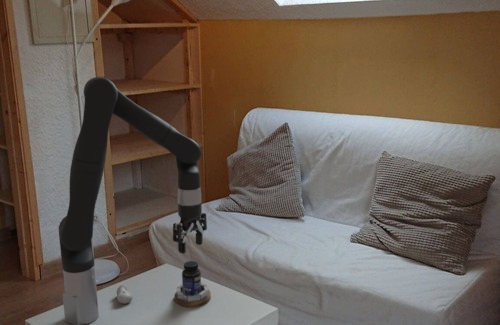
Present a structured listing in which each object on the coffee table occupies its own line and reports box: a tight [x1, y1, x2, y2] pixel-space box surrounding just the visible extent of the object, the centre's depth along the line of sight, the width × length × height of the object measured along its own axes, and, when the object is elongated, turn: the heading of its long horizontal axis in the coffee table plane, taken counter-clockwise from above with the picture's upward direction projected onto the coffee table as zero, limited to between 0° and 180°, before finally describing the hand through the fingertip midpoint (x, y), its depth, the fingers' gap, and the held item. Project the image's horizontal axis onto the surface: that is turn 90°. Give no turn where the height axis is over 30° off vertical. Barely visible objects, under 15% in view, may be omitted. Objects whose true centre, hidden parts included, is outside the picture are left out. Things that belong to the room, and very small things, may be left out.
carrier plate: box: [174, 282, 212, 308], centre depth 176 cm, size 12×12×4 cm
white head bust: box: [116, 284, 133, 305], centre depth 175 cm, size 4×8×5 cm
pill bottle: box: [181, 260, 202, 295], centre depth 175 cm, size 6×6×11 cm
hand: (190, 248), depth 172 cm, fingers open, 8 cm apart
